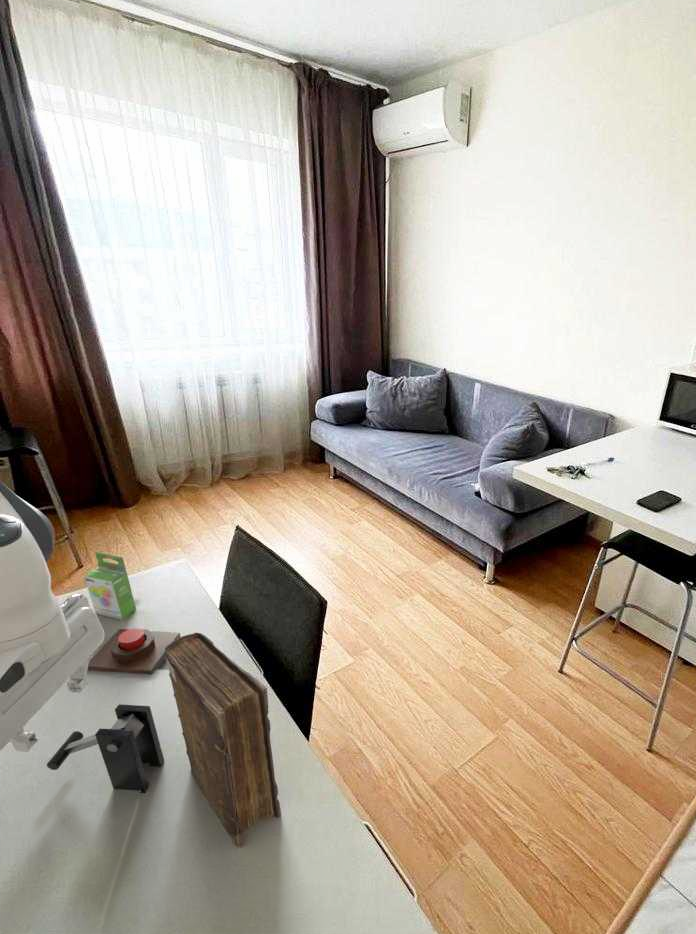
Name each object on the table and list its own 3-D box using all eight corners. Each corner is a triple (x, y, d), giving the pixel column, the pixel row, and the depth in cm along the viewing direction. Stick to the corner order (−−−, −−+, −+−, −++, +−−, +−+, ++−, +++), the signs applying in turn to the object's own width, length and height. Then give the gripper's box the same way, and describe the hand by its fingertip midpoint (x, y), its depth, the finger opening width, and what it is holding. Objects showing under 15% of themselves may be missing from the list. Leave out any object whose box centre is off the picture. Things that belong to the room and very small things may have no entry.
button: (115, 649, 91) (113, 642, 90) (128, 634, 94) (126, 627, 94) (137, 651, 91) (135, 643, 90) (149, 636, 94) (147, 628, 94)
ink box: (94, 614, 104) (78, 561, 98) (110, 603, 107) (95, 551, 102) (121, 621, 103) (107, 567, 97) (137, 609, 106) (124, 557, 101)
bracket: (79, 809, 68) (54, 746, 63) (120, 751, 77) (101, 690, 71) (165, 815, 68) (147, 752, 63) (197, 756, 77) (184, 696, 71)
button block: (87, 675, 89) (81, 658, 88) (121, 637, 99) (117, 621, 97) (153, 679, 89) (148, 662, 88) (181, 641, 99) (178, 625, 97)
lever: (54, 773, 68) (41, 762, 67) (79, 741, 73) (68, 730, 72) (128, 748, 66) (116, 736, 65) (150, 716, 70) (139, 705, 69)
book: (188, 769, 74) (157, 641, 64) (234, 742, 79) (213, 618, 69) (234, 858, 64) (207, 723, 54) (285, 821, 69) (269, 689, 58)
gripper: (60, 586, 71) (84, 658, 77) (-83, 700, 52) (-36, 785, 58) (103, 588, 71) (125, 661, 77) (-24, 704, 52) (17, 788, 58)
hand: (55, 715), depth 67 cm, fingers open, 8 cm apart
